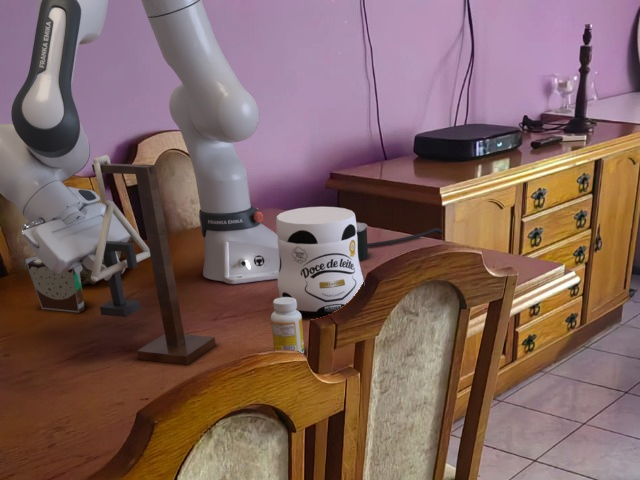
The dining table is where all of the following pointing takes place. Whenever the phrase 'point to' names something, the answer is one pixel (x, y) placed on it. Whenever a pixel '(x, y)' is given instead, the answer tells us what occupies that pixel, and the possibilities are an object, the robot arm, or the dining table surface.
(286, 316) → the supplement bottle
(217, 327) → the dining table surface
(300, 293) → the milk container
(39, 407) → the dining table surface
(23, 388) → the dining table surface
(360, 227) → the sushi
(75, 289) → the food container
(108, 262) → the black hanger
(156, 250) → the hanger stand
